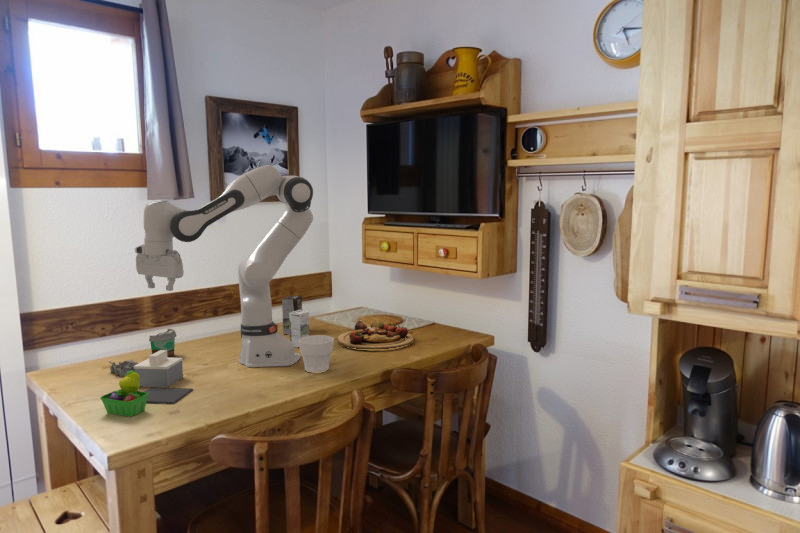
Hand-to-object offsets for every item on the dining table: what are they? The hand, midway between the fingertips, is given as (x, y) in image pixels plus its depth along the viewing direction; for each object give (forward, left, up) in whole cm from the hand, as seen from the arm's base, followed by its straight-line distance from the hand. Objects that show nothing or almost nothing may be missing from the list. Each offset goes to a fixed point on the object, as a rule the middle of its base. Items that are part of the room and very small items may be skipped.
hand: (160, 289), depth 195 cm
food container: (+9, -18, -30) cm, 36 cm away
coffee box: (-27, -61, -30) cm, 73 cm away
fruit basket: (-7, +34, -30) cm, 46 cm away
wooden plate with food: (-66, -49, -30) cm, 88 cm away
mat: (-11, +22, -30) cm, 38 cm away
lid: (-3, +9, -24) cm, 25 cm away
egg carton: (+15, -1, -30) cm, 34 cm away
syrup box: (-37, -38, -30) cm, 61 cm away
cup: (-52, -8, -30) cm, 60 cm away
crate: (-3, +9, -30) cm, 31 cm away
